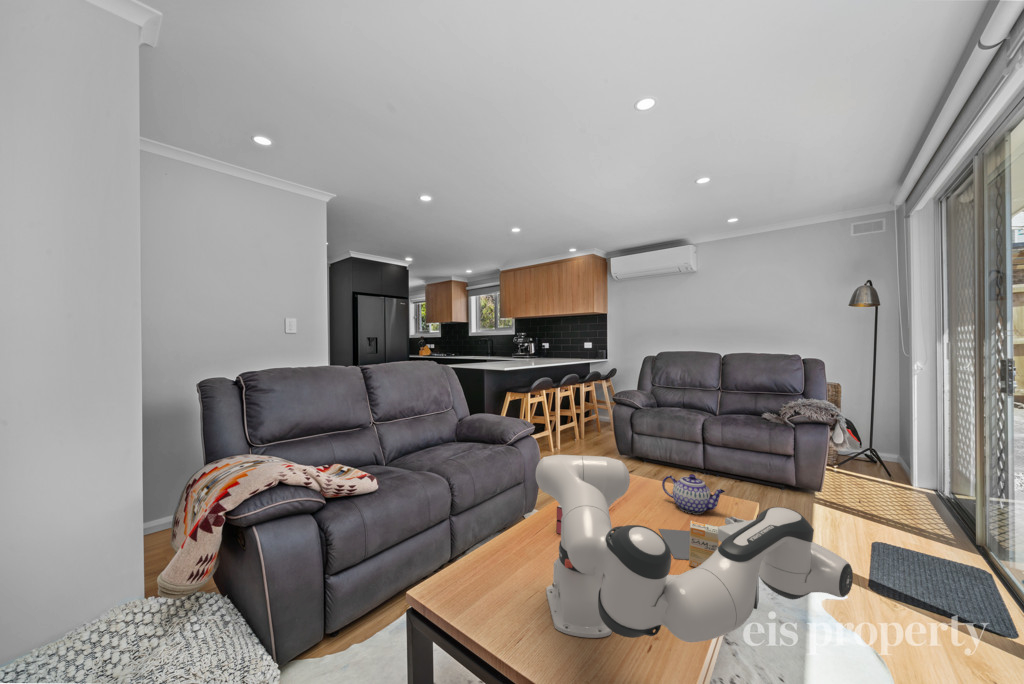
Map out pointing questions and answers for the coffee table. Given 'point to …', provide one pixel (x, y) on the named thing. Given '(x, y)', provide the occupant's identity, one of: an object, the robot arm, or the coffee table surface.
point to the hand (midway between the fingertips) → (728, 519)
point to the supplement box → (702, 542)
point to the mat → (677, 542)
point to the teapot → (692, 494)
